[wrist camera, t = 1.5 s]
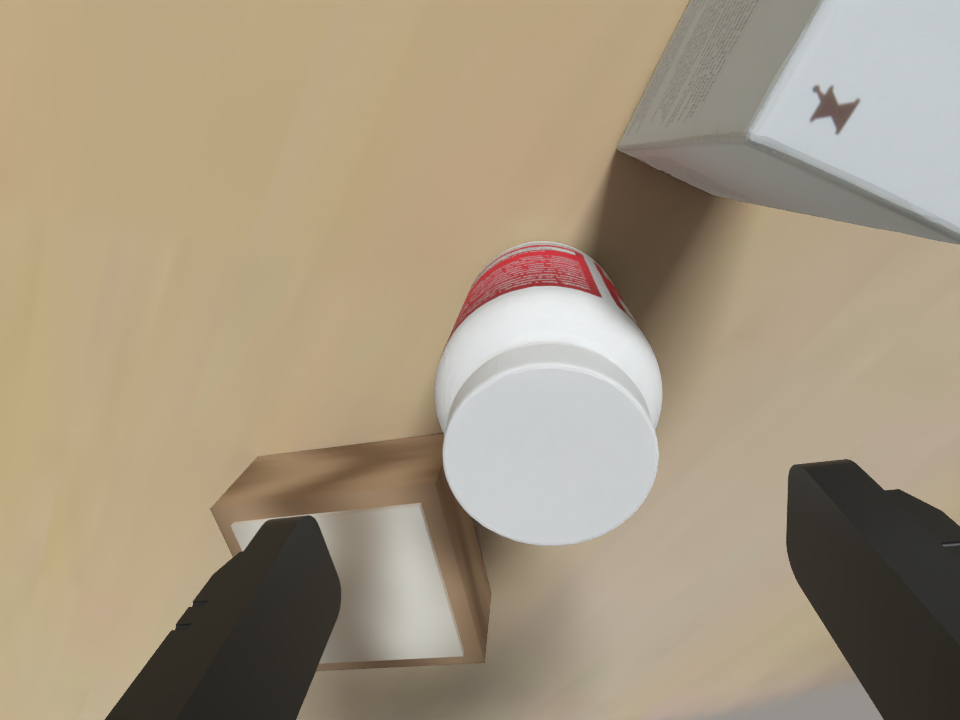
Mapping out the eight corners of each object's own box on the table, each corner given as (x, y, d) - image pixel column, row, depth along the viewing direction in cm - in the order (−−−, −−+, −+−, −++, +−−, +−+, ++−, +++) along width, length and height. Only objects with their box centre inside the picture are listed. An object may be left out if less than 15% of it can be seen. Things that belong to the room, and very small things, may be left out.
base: (451, 432, 24) (434, 487, 20) (491, 593, 27) (483, 667, 23) (257, 456, 25) (206, 512, 21) (319, 605, 29) (285, 677, 25)
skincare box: (716, 199, 19) (978, 264, 8) (613, 149, 18) (731, 144, 7) (823, 19, 16) (1420, -256, 5) (707, -40, 16) (1084, -458, 5)
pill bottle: (440, 329, 22) (357, 485, 12) (522, 206, 20) (510, 265, 9) (557, 406, 23) (575, 613, 12) (649, 296, 20) (764, 440, 10)
